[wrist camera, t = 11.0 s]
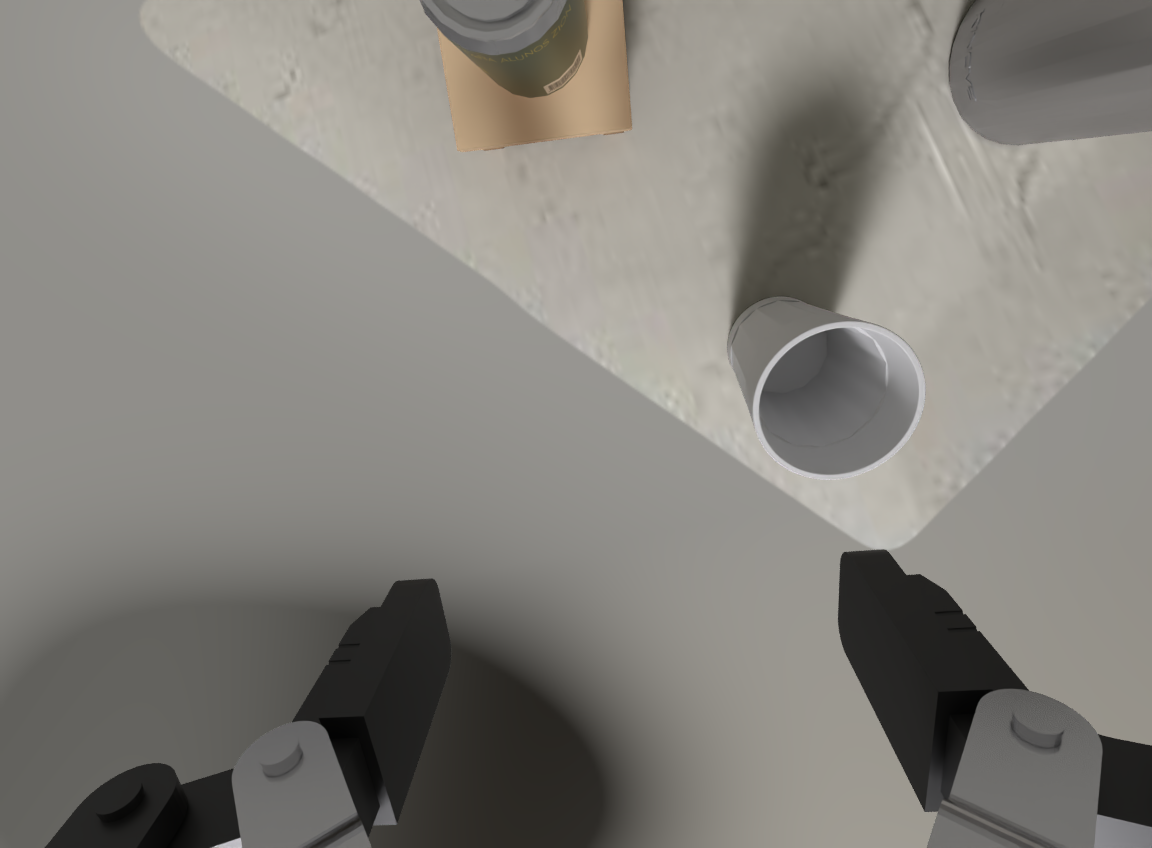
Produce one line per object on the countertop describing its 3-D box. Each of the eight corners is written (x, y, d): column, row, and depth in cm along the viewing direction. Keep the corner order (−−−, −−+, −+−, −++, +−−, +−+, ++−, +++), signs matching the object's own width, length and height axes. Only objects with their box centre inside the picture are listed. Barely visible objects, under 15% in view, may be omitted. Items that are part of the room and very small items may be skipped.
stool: (615, -44, 34) (615, -91, 28) (629, 137, 37) (632, 128, 31) (453, -19, 34) (422, -59, 29) (480, 156, 37) (457, 150, 32)
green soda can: (611, 26, 30) (610, -74, 18) (543, 124, 31) (504, 87, 20) (522, -57, 29) (462, -216, 17) (456, 49, 30) (364, -34, 19)
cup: (714, 287, 39) (755, 325, 28) (843, 279, 39) (937, 315, 28) (714, 405, 42) (750, 483, 31) (834, 399, 42) (915, 477, 30)
